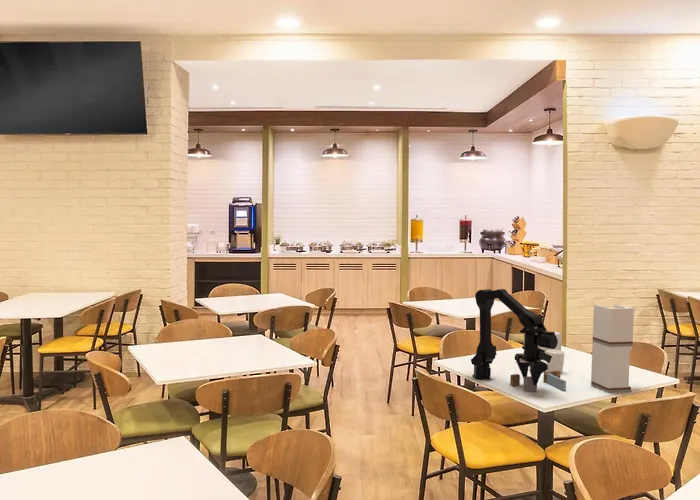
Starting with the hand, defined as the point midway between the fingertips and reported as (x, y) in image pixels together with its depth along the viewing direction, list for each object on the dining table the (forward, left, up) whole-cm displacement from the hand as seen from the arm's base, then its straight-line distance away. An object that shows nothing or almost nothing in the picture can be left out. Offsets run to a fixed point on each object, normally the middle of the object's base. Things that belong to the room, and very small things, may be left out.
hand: (530, 382), depth 238 cm
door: (+14, +4, -3) cm, 15 cm away
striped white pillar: (+36, 0, -4) cm, 36 cm away
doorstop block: (0, 0, -4) cm, 4 cm away
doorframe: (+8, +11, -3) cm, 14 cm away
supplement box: (+40, +59, -4) cm, 71 cm away
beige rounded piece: (+25, +27, -4) cm, 37 cm away
